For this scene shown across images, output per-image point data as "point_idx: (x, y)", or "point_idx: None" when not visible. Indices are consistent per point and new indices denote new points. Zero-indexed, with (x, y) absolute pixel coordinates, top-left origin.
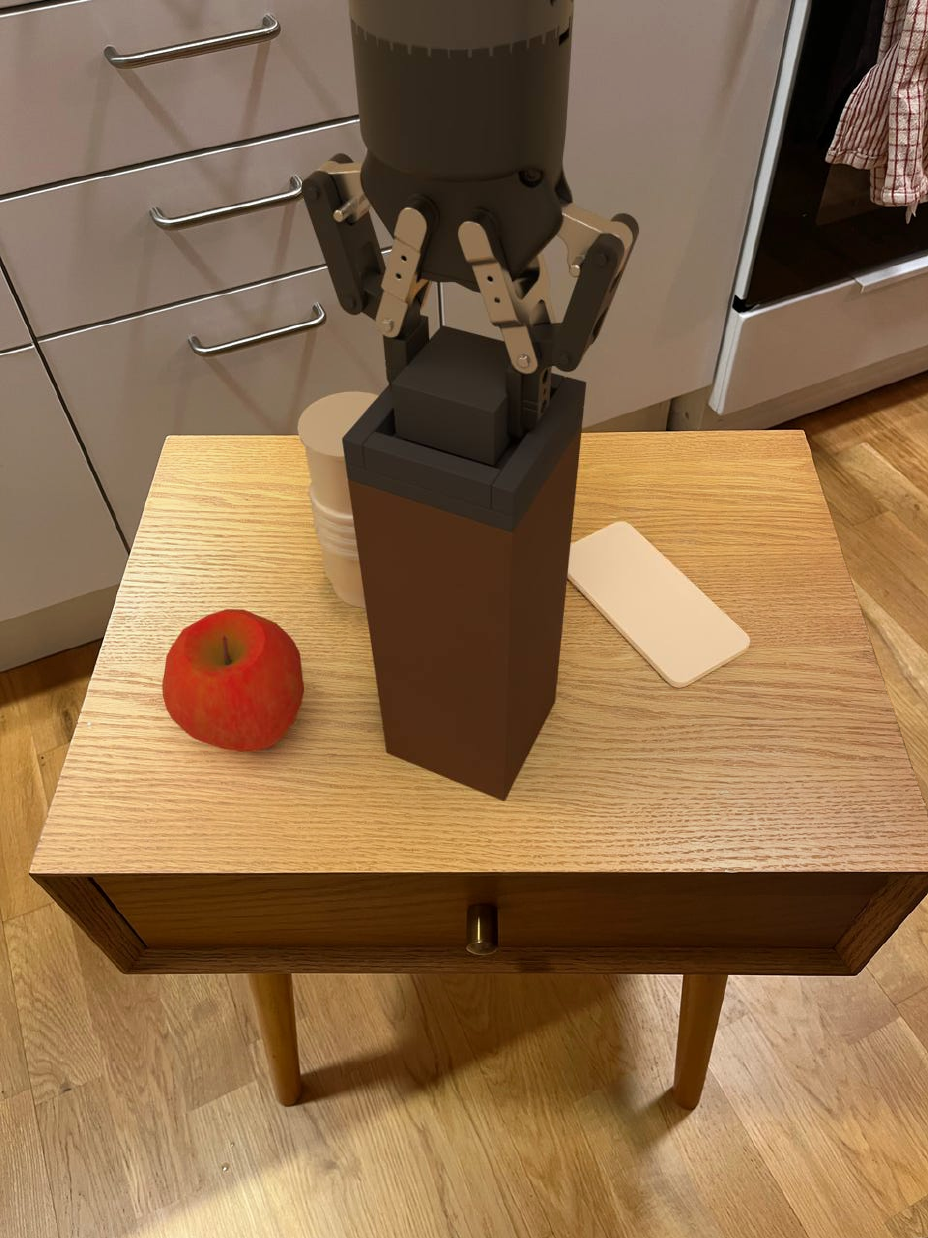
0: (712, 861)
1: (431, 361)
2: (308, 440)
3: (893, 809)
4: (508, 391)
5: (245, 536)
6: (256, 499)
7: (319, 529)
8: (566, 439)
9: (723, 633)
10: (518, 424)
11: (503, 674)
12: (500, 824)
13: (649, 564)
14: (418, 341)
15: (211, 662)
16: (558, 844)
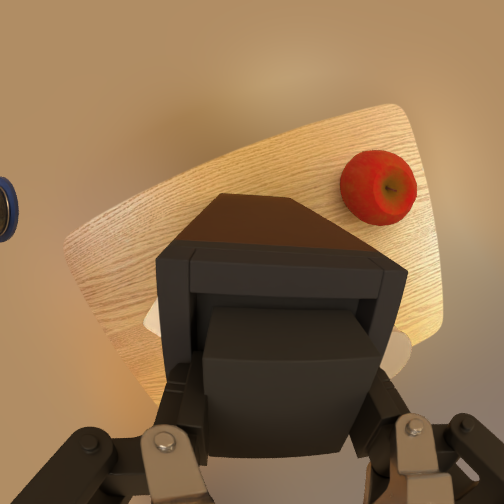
0: (121, 204)
1: (337, 410)
2: (403, 337)
3: (72, 259)
4: (201, 398)
5: (404, 296)
6: (405, 318)
7: None
8: None
9: (155, 325)
10: (191, 362)
11: (210, 206)
12: (217, 180)
13: None
14: (362, 426)
15: (394, 179)
16: (187, 181)
